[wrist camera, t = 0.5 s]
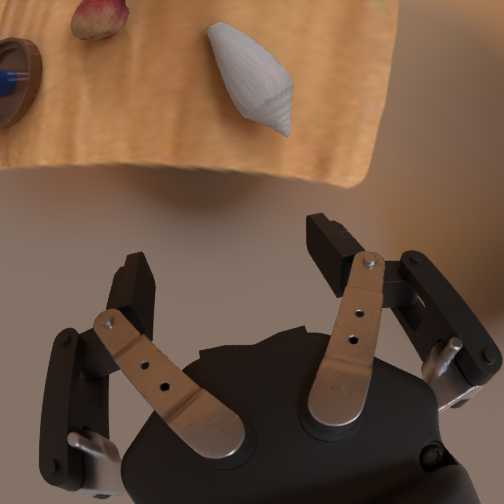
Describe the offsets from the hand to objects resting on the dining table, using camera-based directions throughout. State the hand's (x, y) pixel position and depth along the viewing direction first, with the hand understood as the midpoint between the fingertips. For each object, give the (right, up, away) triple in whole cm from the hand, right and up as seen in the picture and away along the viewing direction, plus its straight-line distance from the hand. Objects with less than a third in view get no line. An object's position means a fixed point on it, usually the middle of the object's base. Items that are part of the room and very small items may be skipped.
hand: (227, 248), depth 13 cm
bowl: (-37, +26, +9) cm, 46 cm away
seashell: (0, +24, +19) cm, 31 cm away
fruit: (-19, +32, +10) cm, 38 cm away
